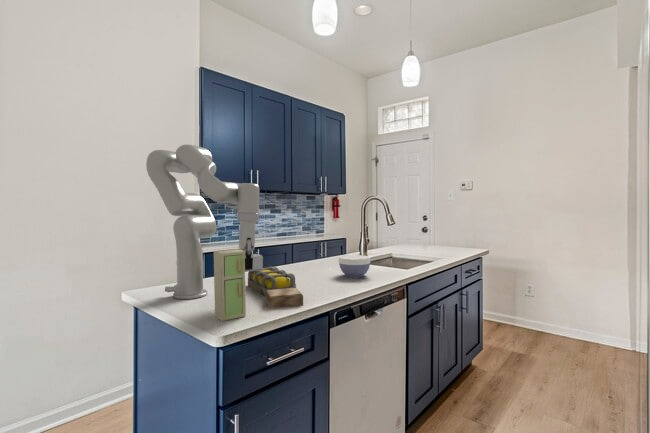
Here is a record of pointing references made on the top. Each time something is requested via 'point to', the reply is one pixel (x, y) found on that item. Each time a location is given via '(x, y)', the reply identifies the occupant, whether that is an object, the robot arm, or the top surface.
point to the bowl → (354, 265)
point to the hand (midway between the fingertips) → (246, 266)
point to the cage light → (270, 280)
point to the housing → (257, 263)
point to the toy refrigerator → (229, 284)
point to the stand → (283, 297)
